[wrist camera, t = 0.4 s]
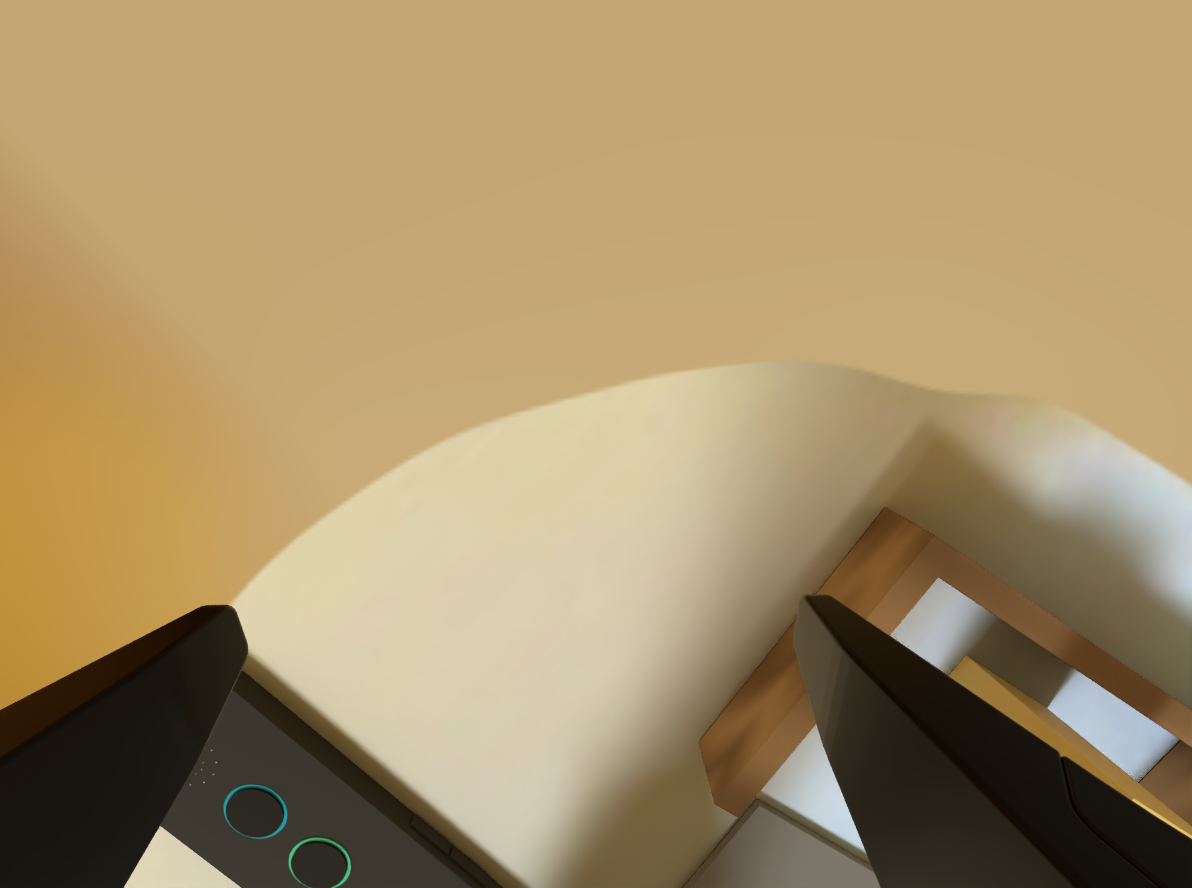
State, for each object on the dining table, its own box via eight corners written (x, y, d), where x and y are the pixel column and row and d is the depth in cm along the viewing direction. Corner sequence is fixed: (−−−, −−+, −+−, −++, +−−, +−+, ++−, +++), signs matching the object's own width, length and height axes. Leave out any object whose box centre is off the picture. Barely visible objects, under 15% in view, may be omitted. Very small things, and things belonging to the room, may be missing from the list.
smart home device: (211, 673, 24) (534, 939, 27) (236, 650, 26) (538, 903, 28) (97, 786, 25) (418, 1030, 28) (128, 757, 27) (428, 990, 30)
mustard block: (976, 784, 27) (1136, 971, 19) (897, 734, 26) (1027, 906, 18) (1046, 707, 26) (1244, 870, 18) (965, 655, 25) (1133, 798, 17)
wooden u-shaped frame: (1020, 932, 28) (1078, 1014, 25) (698, 742, 26) (714, 804, 23) (1217, 733, 26) (1312, 793, 23) (885, 506, 24) (934, 535, 20)
